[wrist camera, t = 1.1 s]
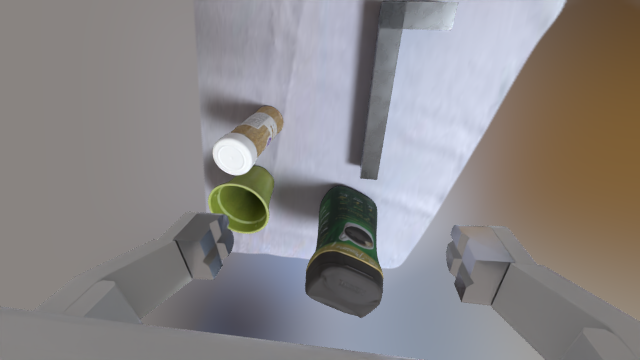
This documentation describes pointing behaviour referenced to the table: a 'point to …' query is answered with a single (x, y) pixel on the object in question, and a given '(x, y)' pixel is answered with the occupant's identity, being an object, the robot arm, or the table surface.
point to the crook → (394, 66)
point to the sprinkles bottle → (247, 141)
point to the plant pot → (244, 200)
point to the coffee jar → (346, 254)
